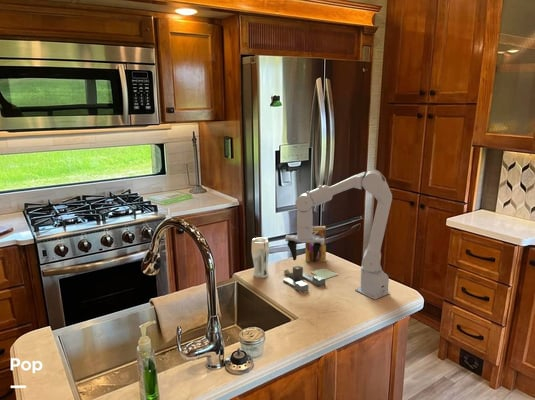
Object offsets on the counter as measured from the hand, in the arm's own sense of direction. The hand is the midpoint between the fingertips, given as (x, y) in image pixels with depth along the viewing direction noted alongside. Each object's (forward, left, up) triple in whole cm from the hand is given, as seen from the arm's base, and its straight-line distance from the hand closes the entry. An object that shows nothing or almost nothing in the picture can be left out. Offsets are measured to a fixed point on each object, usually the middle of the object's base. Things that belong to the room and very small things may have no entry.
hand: (304, 260), depth 152 cm
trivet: (+2, -12, -10) cm, 16 cm away
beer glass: (+17, +9, -10) cm, 21 cm away
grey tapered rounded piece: (+7, 0, -9) cm, 12 cm away
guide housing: (+1, 0, -9) cm, 10 cm away
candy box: (+16, -19, -10) cm, 27 cm away
